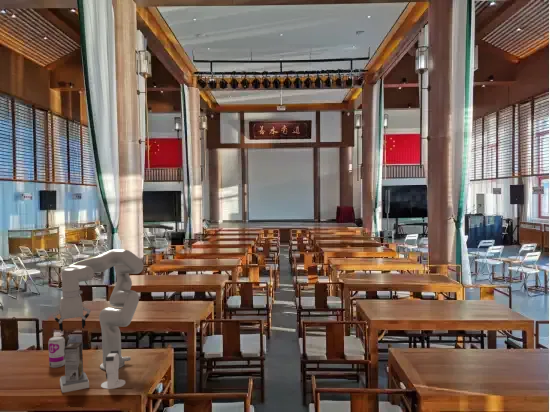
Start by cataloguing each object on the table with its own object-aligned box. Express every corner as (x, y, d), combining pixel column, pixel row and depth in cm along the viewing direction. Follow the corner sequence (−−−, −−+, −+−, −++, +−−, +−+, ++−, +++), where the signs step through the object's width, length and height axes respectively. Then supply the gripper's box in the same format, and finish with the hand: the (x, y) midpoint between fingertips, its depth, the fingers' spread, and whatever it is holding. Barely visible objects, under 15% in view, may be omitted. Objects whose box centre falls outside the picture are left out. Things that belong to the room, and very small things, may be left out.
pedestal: (86, 379, 252) (85, 371, 252) (89, 387, 241) (88, 379, 241) (60, 384, 246) (59, 376, 246) (62, 392, 236) (61, 384, 236)
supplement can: (59, 368, 270) (58, 340, 270) (46, 367, 272) (44, 340, 271) (68, 363, 278) (67, 336, 278) (55, 362, 280) (54, 335, 279)
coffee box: (70, 374, 248) (68, 342, 247) (83, 373, 249) (82, 341, 248) (64, 381, 239) (63, 348, 238) (79, 380, 240) (77, 347, 239)
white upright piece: (104, 380, 250) (103, 350, 250) (128, 378, 251) (126, 349, 251) (98, 389, 238) (96, 358, 238) (122, 388, 239) (121, 356, 239)
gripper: (88, 290, 250) (90, 324, 251) (50, 295, 242) (52, 330, 243) (90, 293, 243) (92, 328, 244) (51, 297, 235) (53, 334, 236)
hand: (72, 329), depth 243 cm, fingers open, 9 cm apart
